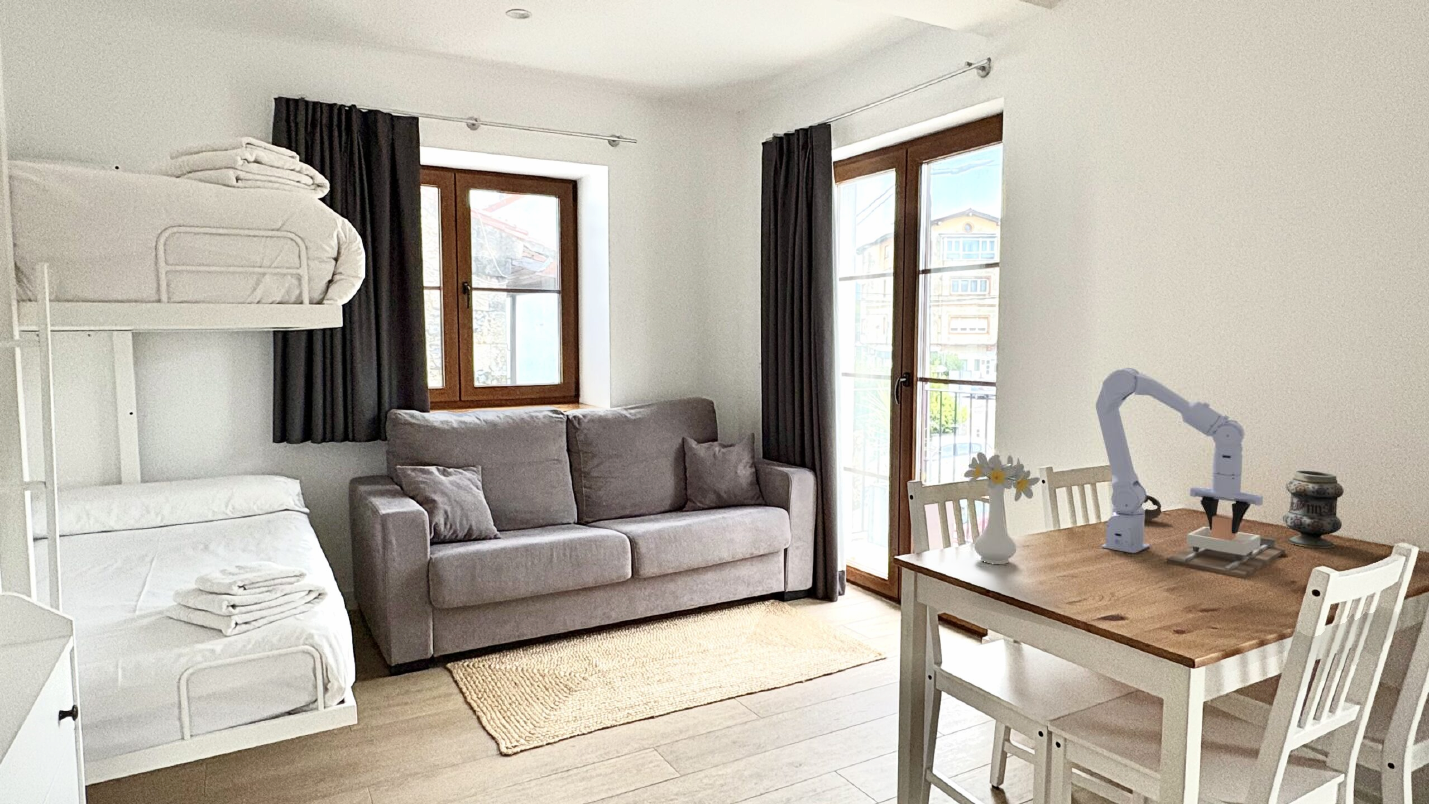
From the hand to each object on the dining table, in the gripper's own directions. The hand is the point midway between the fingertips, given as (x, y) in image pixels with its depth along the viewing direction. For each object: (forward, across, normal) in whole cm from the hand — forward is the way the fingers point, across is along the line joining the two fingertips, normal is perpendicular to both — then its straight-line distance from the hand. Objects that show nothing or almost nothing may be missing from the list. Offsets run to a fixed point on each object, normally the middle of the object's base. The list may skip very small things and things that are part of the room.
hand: (1223, 531), depth 197 cm
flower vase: (+7, +35, +39) cm, 53 cm away
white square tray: (+5, 0, 0) cm, 5 cm away
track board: (+7, 0, -3) cm, 8 cm away
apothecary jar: (+7, -10, -32) cm, 34 cm away
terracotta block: (+2, 0, 0) cm, 2 cm away
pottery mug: (+7, +30, -28) cm, 42 cm away
